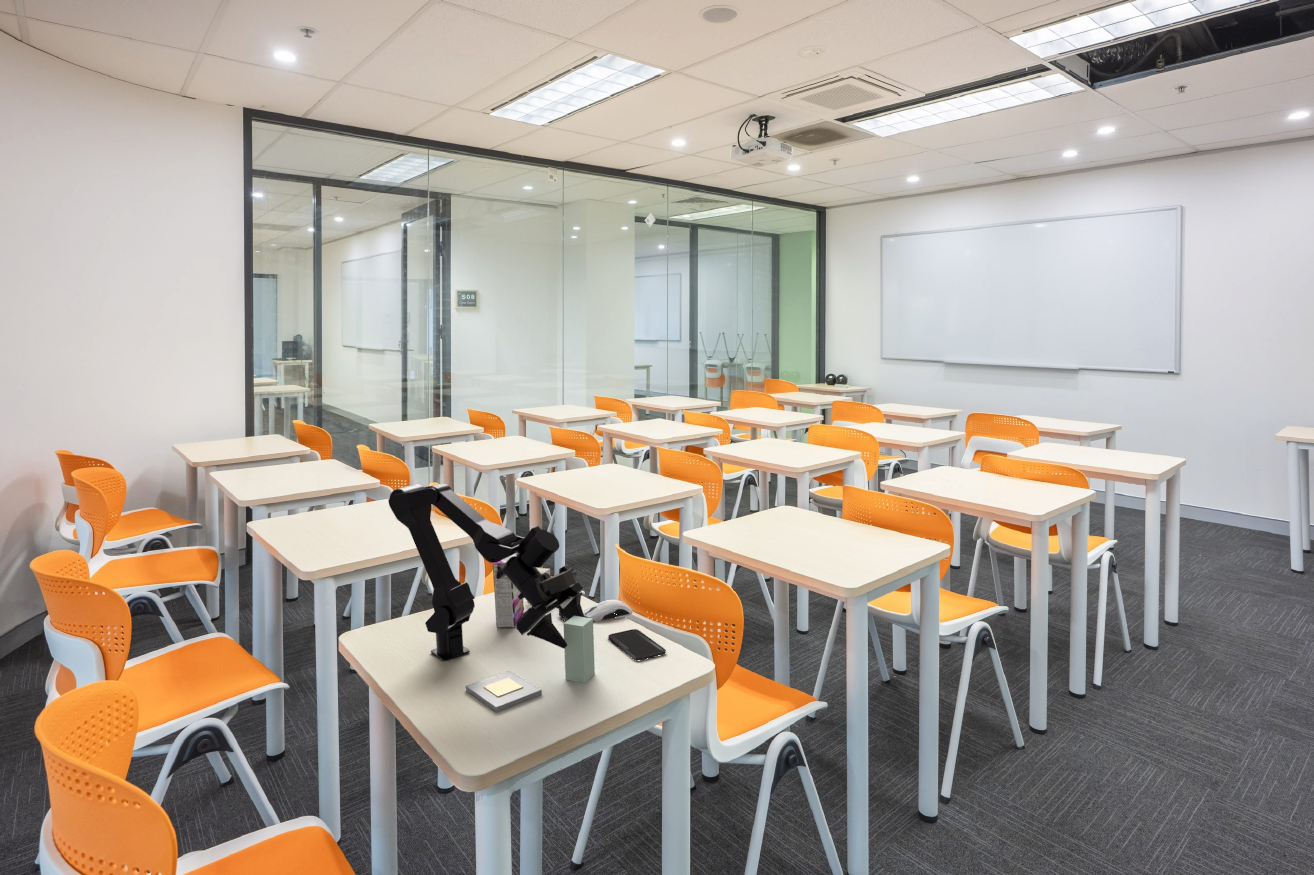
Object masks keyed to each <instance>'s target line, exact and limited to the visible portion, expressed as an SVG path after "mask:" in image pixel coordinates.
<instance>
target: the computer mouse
mask: <svg viewBox="0 0 1314 875" xmlns="http://www.w3.org/2000/svg"><path fill="white" fill-rule="evenodd" d="M562 610H563V609H558V616H559V617H561V618H562V619H563V621H564V623H565V622H566V621H568V620H569V619H568V618H566V617H565V616H564V615H562V614H561V613H560V612H561V611H562ZM633 612H634V611H633V609H632V608H631V607H630V606H628V605H627V604H626V603H625V602H624V601H621V600H619V599H608V600H607V599H606V600H603V601H600V602H598V603H596V604H593V605H592V606H590V607H588V608H586V609H584V610H583V613H584V616H585V617H586V618H593V622H600V621H601V622H602V621H603V620H604V621H605V620H610V619H611V618H612V619H616V618H615V617H618V618H617V619H620V618H625V617H629V616H631V615H633ZM614 613H615V614H614ZM616 614H617V615H616ZM612 619H611V620H612Z"/></svg>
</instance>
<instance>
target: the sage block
mask: <svg viewBox="0 0 1314 875" xmlns="http://www.w3.org/2000/svg"><path fill="white" fill-rule="evenodd" d="M562 625H563V638H564V640H565V642H566V643H567V646H566V647H565V648H564V670H565V672H564V673H565V676H564V677H565V680H566V681H569V682H570V681H572V682H576V683H582V684H586V683H587V682H588V681H589V680H590V679H591V678H592V677H593V676H594V675H595V673H596V672H595V670H596V667H595V643H594V642H595V641H594V639H595V638H594V636H595V635H594V620H593V618H586V616H585V617H579V616H573V617H572V618H570V619H569V620H568V621H566V622H565V621H564V623H563V624H562Z"/></svg>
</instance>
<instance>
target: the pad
mask: <svg viewBox="0 0 1314 875" xmlns="http://www.w3.org/2000/svg"><path fill="white" fill-rule="evenodd" d="M465 691H466V692H467V693H469V694H470V695H472V696H473V697H474V698H476V699H477V700H478V701H479V702H481V703H483V704H484V705H486V706H487V707H488V708H490V709H491V710H493V711H494V712H495V713H498V712H500V711H503V710H506V709H508V708H510V707H514V706H515V705H518V704H522V703H524V702H526V701H529V700H531V699H533V698H536V697H539V696H541V695H543V693H542V692H543V691H542V689H541V688H540V687H538V686H536V685H535V684H533V683H532V682H530V681H528V680H526V679H525V678H524V677H521V676H520V675H518V674H517V673H515V672H513V671H512V670H510V669H509V670H506V671H504V672H501V673H499V674H495V675H492V676H489V677H486V678H484V679H480V680H478V681H475V682H472V683H469V684H467V685H465Z"/></svg>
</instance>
